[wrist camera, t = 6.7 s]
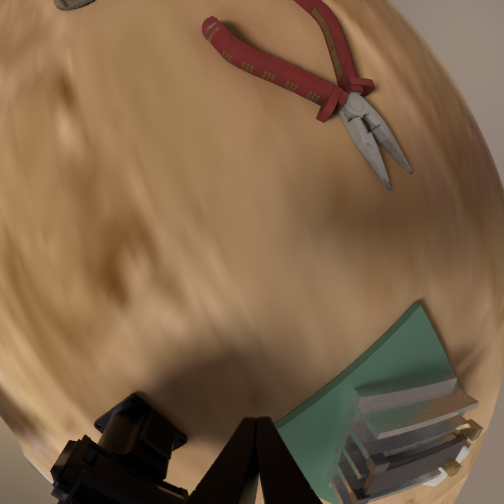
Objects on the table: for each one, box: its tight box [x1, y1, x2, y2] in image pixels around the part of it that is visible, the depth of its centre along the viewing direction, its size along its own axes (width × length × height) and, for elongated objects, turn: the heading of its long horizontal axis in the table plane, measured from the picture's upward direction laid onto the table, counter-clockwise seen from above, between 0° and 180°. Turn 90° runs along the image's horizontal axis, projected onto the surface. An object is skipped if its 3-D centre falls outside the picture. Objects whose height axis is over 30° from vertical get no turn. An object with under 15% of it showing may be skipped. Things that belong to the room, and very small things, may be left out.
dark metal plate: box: [361, 434, 468, 495], centre depth 16 cm, size 11×3×1 cm, turn 85°
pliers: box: [202, 0, 413, 191], centre depth 19 cm, size 12×20×3 cm, turn 37°
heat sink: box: [324, 372, 483, 504], centre depth 19 cm, size 12×12×8 cm
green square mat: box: [274, 302, 465, 504], centre depth 23 cm, size 20×20×1 cm
